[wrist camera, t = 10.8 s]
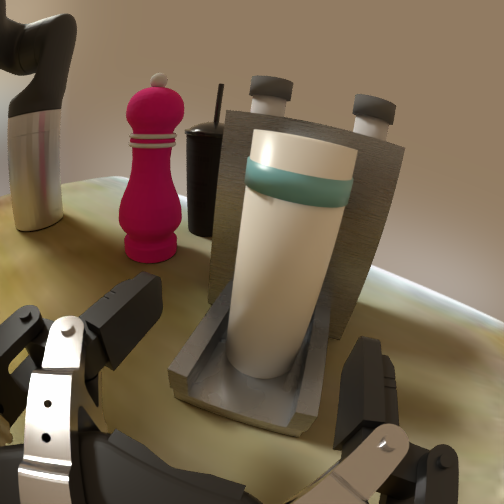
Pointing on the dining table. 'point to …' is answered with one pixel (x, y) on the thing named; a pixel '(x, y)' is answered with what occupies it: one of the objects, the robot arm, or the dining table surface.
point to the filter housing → (330, 298)
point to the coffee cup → (284, 246)
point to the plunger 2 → (373, 116)
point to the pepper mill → (152, 174)
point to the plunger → (270, 95)
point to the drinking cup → (203, 171)
